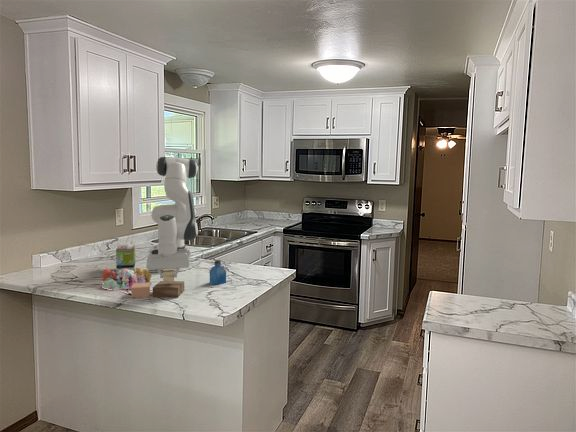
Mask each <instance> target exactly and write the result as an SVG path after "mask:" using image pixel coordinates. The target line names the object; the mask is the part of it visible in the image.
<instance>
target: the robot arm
mask: <svg viewBox="0 0 576 432" xmlns="http://www.w3.org/2000/svg"><path fill="white" fill-rule="evenodd" d="M155 169H156V172H157V174H158V175H159V176H162V177H164V187H163V189H164V192H165V195H166V197H167V199H169V200H171V201H173V202H174V203H172V204H161V205H157V206H154V207H153V208H152V210H151V219H152V220H153V222H155V223H156V224H157V225H158V226H157V237H158V243H157V245H156V246H154V247H151V248H149V249H148V256H147V258H146V264H145V265H146V269H148V270H149V271H151V270H152V271H153V270H157V272H158V274H159V275H160V279H163V272H162V271H163V270H168V269H174V278H177V277H178V273H179V272H183V271H186V270H190V269H192V265H191V264H190V257H191V251H190V250H189V249H187V248H186V245H185V241H191V242H192V241H194V239H196V238H197V237H198V234H199V228H198V225H197V219H196V217H197V216H196V215H197V210H196V208H195V202H194V197H193V194H192V191H190V190H189V189H188V188H187V179H194V178H195V177H196V175H197V174H198V170H199V167H198V163H197V161H196V160H194V159H192V158H189V159H188V158H185V157H175V156H174V157H173V156H171V157H170V156H168V157H166V156H160V157H159V158H158V159H157V161H156V164H155Z"/></svg>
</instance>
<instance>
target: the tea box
mask: <svg viewBox="0 0 576 432" xmlns="http://www.w3.org/2000/svg"><path fill="white" fill-rule="evenodd" d="M115 254H116V255H115V257H116V258H115V260H116V263H115V265H116V266H115V267H116V268H115V269H116V272H115V275H117V274H118V271H120V270H123V269H128V270H133V271H134V272H135V271H136V268H137V267H136V244H118V245H117V246H116V249H115Z"/></svg>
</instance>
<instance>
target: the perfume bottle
mask: <svg viewBox="0 0 576 432" xmlns="http://www.w3.org/2000/svg"><path fill="white" fill-rule="evenodd" d="M221 261H222V260H221V259H216V260H214V266H212V267H211V268H210V270H209V283H210V284H212V285H215V286H218V285H222V284H223V285H224V284H226V283H227V271H226V269H225V268H224V266H223V265H222V262H221ZM221 265H222V266H221Z"/></svg>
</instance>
